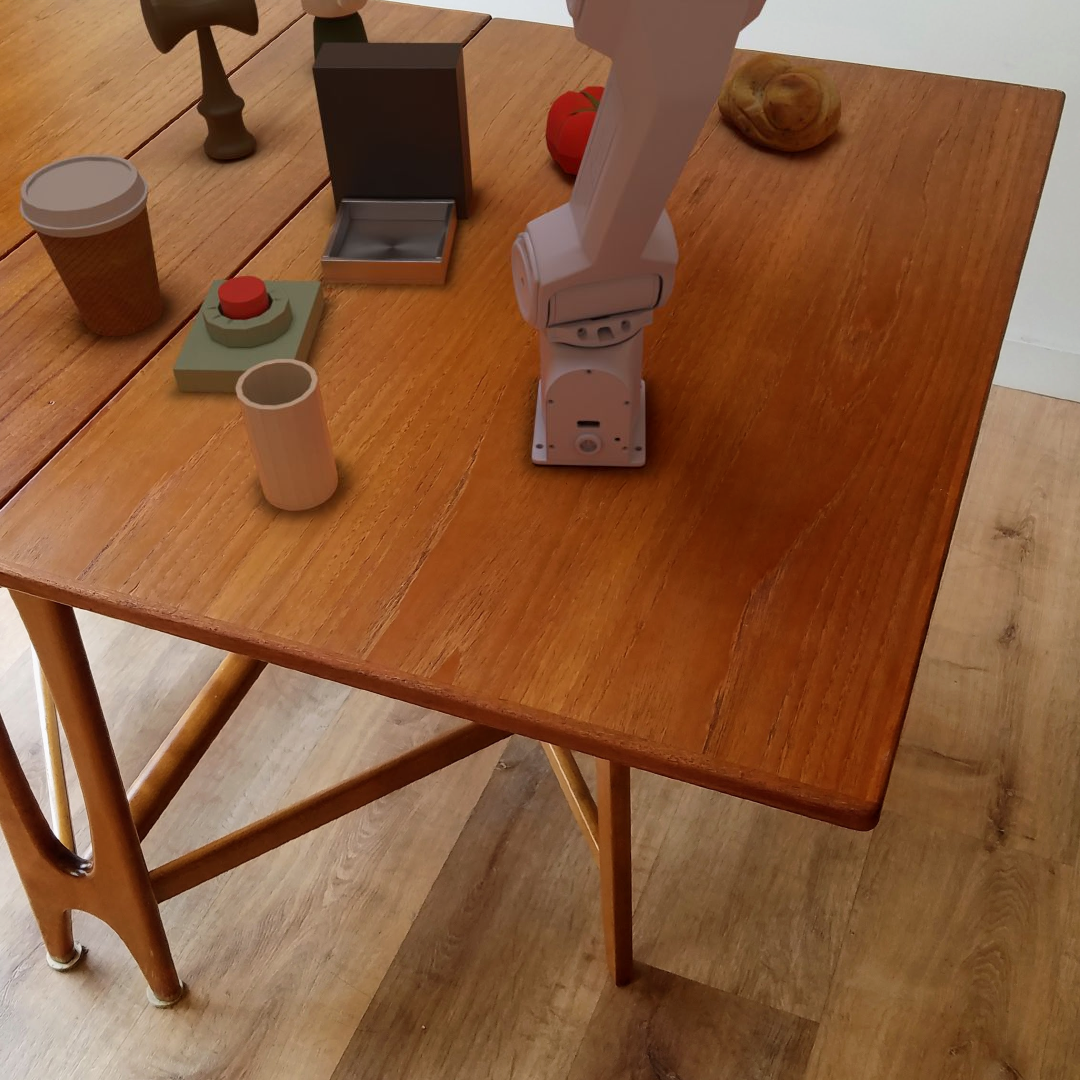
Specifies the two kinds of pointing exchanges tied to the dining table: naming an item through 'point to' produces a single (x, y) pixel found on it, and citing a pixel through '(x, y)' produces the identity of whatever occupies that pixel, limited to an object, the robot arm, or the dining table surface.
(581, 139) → the tomato
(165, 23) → the kendama
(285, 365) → the beige hollow cylinder
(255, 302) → the button
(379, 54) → the coffee machine
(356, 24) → the character mug
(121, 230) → the disposable coffee cup
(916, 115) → the dining table surface
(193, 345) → the switch block
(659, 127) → the robot arm
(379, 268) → the pan
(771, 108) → the bread roll
